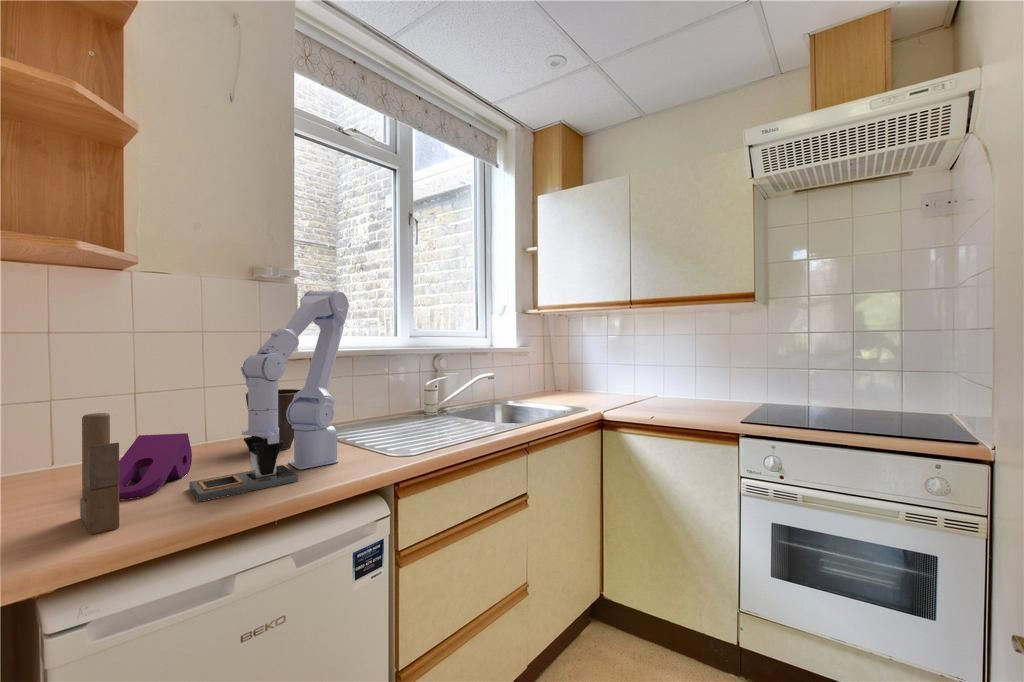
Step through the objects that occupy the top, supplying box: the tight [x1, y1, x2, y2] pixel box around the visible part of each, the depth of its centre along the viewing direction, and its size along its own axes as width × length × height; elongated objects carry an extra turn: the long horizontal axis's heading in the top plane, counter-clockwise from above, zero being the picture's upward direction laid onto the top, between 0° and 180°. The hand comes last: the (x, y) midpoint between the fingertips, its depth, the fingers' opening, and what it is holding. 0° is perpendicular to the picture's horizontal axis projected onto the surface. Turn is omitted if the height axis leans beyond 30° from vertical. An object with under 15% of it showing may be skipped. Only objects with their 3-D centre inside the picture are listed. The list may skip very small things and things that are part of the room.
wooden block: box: [79, 412, 120, 535], centre depth 76 cm, size 4×11×18 cm, turn 50°
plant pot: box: [245, 388, 301, 451], centre depth 128 cm, size 15×15×16 cm
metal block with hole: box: [249, 451, 277, 480], centre depth 98 cm, size 4×4×7 cm
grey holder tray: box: [188, 464, 299, 502], centre depth 96 cm, size 18×10×2 cm, turn 134°
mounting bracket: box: [119, 432, 193, 500], centre depth 96 cm, size 9×8×18 cm
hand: (263, 471), depth 98 cm, fingers open, 5 cm apart
